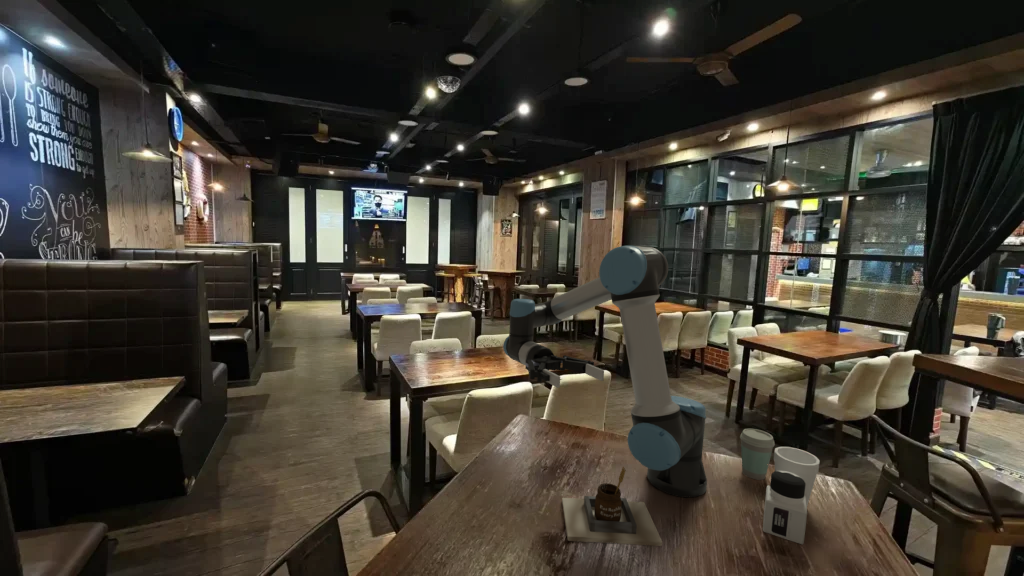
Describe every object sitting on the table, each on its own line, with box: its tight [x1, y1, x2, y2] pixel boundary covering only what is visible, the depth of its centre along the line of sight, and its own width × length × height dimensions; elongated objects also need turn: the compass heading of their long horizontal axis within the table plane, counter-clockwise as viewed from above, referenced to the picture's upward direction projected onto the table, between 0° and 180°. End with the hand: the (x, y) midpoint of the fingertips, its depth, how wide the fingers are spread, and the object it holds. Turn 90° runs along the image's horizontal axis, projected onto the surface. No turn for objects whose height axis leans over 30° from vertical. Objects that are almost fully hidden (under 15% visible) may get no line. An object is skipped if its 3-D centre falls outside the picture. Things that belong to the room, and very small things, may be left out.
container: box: [762, 470, 808, 545], centre depth 97 cm, size 8×8×13 cm
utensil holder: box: [595, 466, 627, 522], centre depth 98 cm, size 6×6×12 cm
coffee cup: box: [739, 428, 776, 481], centre depth 121 cm, size 8×8×12 cm
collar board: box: [561, 495, 663, 547], centre depth 98 cm, size 20×14×3 cm
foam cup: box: [773, 446, 820, 507], centre depth 107 cm, size 10×9×13 cm
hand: (581, 378), depth 106 cm, fingers open, 13 cm apart
